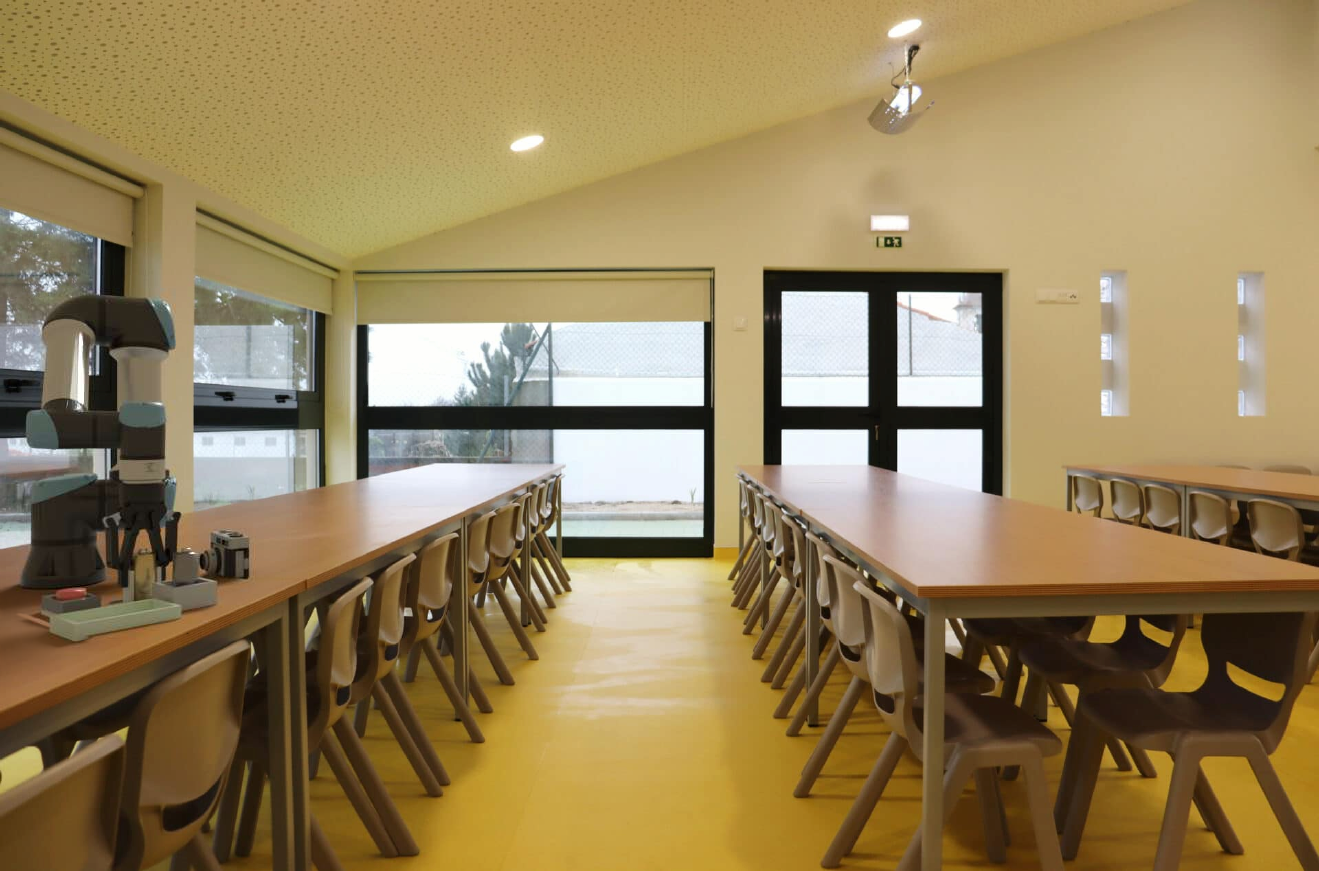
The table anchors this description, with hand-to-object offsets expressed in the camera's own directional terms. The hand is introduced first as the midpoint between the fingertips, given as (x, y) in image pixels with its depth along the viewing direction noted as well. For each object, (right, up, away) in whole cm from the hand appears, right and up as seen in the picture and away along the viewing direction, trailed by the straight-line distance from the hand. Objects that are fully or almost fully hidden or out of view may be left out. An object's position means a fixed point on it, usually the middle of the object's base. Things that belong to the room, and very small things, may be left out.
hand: (142, 601), depth 156 cm
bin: (+9, -1, -2) cm, 10 cm away
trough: (+6, -1, -16) cm, 17 cm away
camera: (0, 0, +29) cm, 29 cm away
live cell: (0, -1, 0) cm, 1 cm away
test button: (-7, +2, -9) cm, 12 cm away
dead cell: (+9, 0, -2) cm, 10 cm away
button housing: (-7, -1, -9) cm, 12 cm away
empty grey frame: (0, -1, 0) cm, 1 cm away
